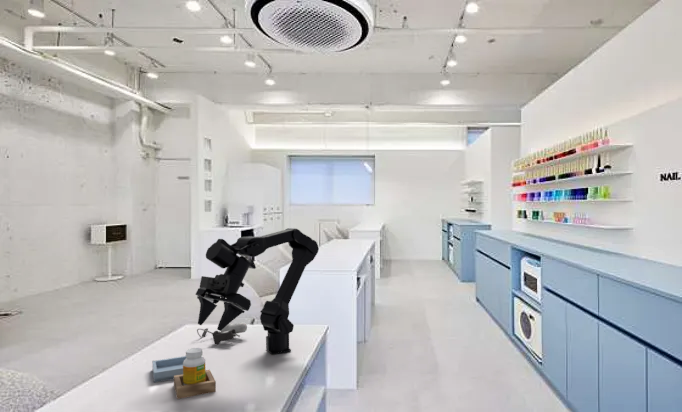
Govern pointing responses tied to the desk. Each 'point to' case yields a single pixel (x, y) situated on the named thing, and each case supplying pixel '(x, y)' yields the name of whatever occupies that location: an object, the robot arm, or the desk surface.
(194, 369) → the supplement bottle
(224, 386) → the desk surface
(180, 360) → the tray
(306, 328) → the desk surface
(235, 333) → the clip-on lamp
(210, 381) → the frame
